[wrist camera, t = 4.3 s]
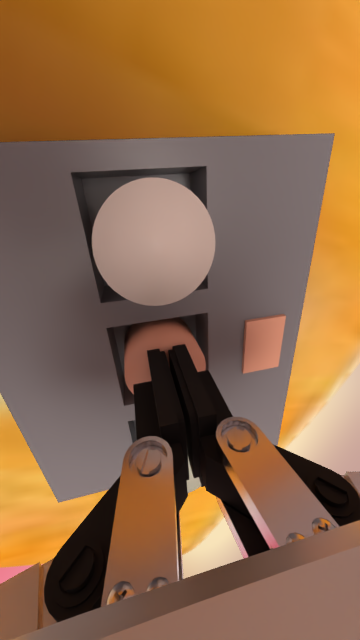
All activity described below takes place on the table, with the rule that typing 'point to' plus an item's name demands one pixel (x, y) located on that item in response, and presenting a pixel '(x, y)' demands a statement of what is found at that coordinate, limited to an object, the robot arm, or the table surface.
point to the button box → (120, 313)
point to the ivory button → (153, 241)
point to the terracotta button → (156, 347)
